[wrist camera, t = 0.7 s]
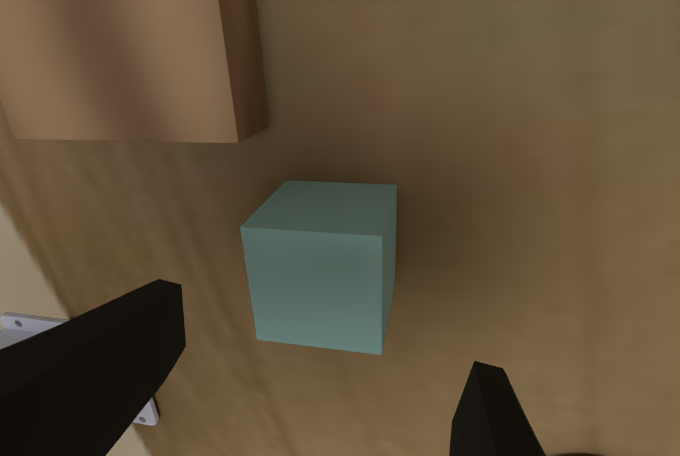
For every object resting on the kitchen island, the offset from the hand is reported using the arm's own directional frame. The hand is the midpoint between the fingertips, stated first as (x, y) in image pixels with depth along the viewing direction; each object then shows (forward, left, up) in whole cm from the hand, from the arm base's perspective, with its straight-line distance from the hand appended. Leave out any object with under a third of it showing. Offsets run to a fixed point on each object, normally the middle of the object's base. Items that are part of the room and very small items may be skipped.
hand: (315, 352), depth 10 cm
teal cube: (-2, -2, -10) cm, 10 cm away
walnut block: (-10, +8, -10) cm, 16 cm away
